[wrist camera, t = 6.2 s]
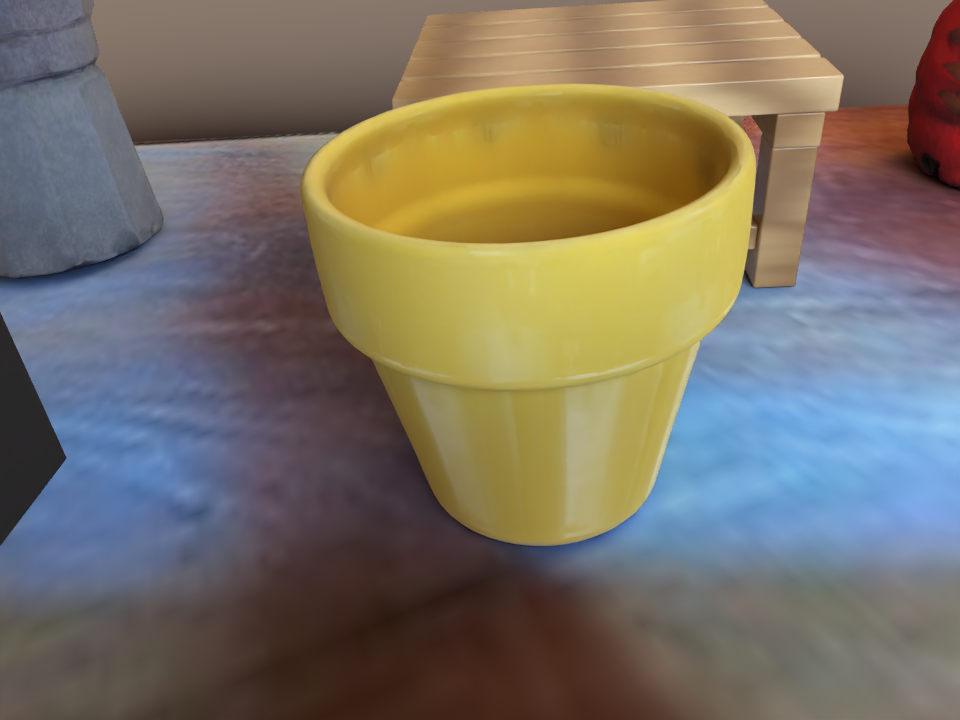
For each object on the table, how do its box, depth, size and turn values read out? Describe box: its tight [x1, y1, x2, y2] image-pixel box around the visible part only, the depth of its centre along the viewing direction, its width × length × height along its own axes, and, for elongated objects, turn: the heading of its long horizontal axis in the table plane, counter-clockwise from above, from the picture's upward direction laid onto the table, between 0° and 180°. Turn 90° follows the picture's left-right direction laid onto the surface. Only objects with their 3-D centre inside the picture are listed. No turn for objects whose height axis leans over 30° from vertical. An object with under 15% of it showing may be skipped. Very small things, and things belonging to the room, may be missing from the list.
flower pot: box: [301, 83, 756, 546], centre depth 22 cm, size 10×10×10 cm
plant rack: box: [392, 0, 844, 288], centre depth 35 cm, size 15×13×8 cm
